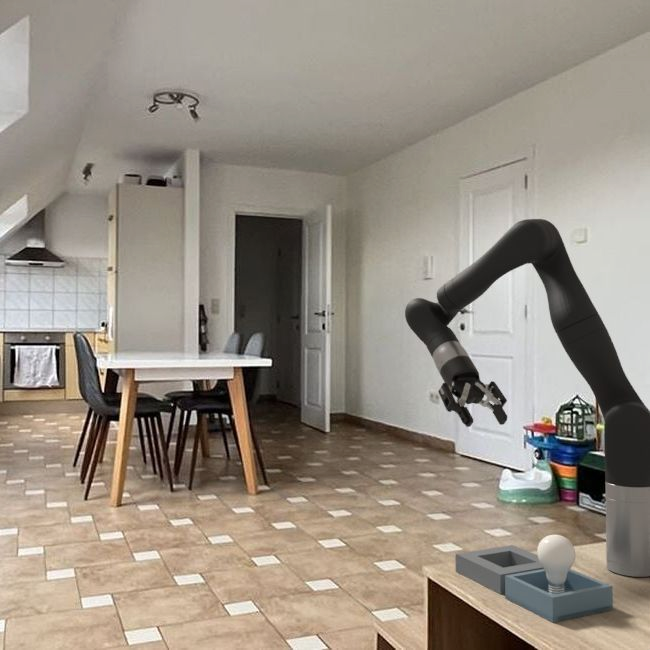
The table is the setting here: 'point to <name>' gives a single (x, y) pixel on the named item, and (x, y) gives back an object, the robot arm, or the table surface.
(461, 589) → the table surface
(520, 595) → the parts tray
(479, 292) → the robot arm
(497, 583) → the socket block
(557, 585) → the lightbulb
